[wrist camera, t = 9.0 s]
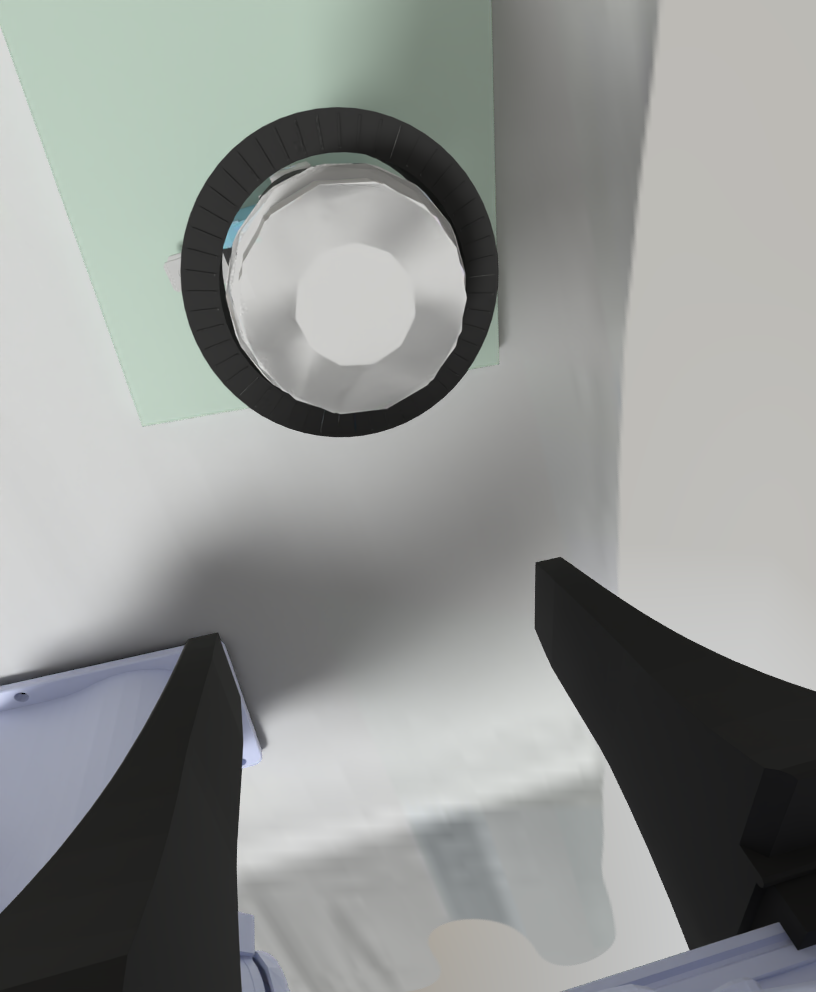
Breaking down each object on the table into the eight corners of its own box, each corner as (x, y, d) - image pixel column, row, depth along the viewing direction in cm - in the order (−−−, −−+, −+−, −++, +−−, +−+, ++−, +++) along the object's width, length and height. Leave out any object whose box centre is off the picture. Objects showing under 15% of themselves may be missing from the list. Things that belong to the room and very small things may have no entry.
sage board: (146, 414, 21) (142, 426, 20) (-17, -56, 15) (-33, -67, 14) (489, 355, 23) (498, 364, 22) (476, -92, 16) (489, -104, 15)
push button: (211, 351, 19) (184, 525, 11) (127, 162, 16) (2, 204, 8) (415, 284, 20) (540, 404, 11) (367, 88, 17) (486, 54, 8)
